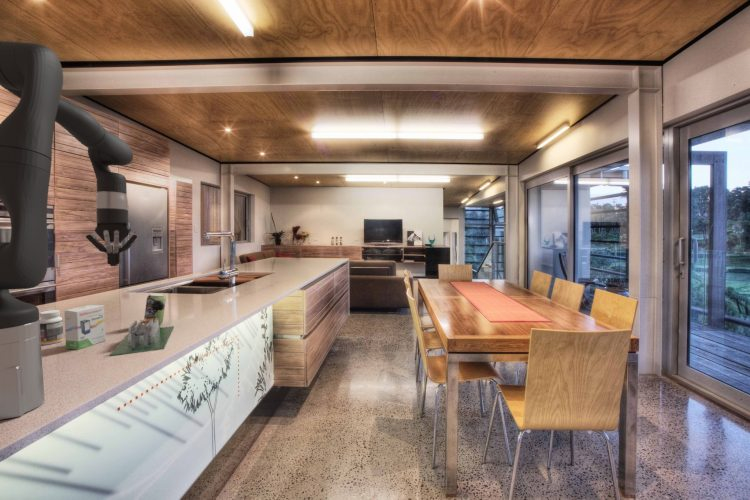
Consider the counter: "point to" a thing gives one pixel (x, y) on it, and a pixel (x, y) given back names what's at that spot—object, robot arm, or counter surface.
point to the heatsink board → (144, 337)
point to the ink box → (84, 326)
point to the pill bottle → (51, 327)
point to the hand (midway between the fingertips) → (114, 265)
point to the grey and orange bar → (144, 326)
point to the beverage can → (155, 306)
